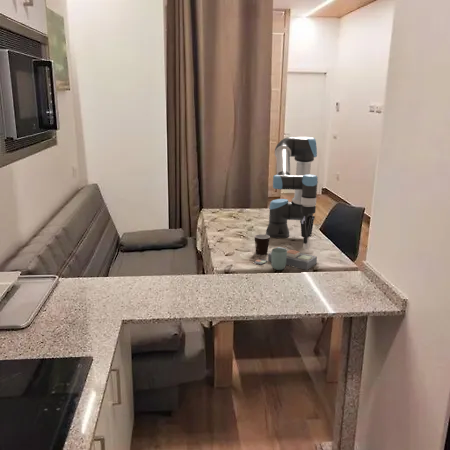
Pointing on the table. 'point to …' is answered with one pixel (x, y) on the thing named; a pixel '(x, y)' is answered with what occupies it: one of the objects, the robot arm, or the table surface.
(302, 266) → the keypad
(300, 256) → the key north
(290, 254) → the key mid
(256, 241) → the coffee mug
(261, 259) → the tile
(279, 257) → the cup
